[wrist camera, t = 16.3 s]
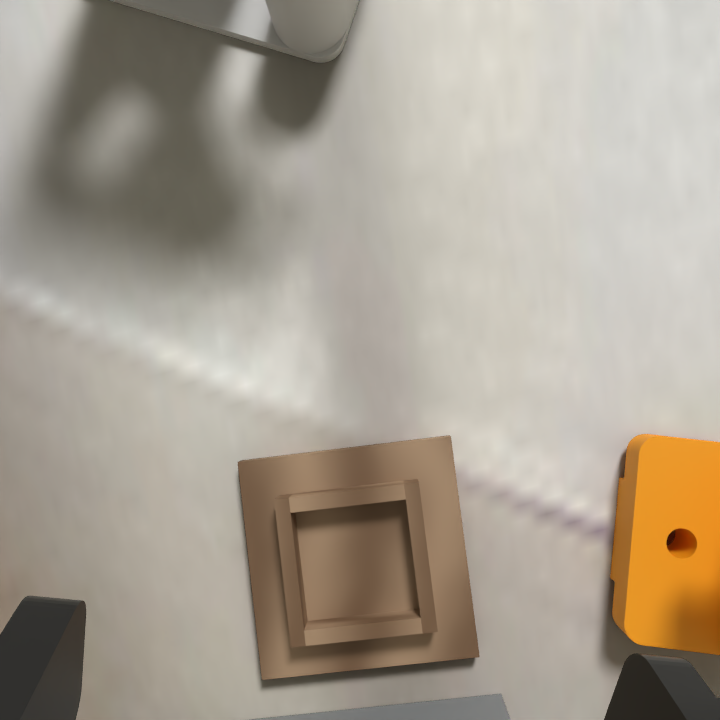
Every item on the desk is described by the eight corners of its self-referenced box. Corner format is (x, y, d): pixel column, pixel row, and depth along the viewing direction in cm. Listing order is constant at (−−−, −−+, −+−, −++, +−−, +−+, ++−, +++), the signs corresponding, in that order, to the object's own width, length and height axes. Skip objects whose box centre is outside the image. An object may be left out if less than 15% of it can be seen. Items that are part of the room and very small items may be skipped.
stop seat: (265, 672, 37) (256, 692, 35) (241, 460, 38) (231, 465, 35) (477, 649, 37) (483, 668, 34) (449, 435, 37) (453, 438, 35)
